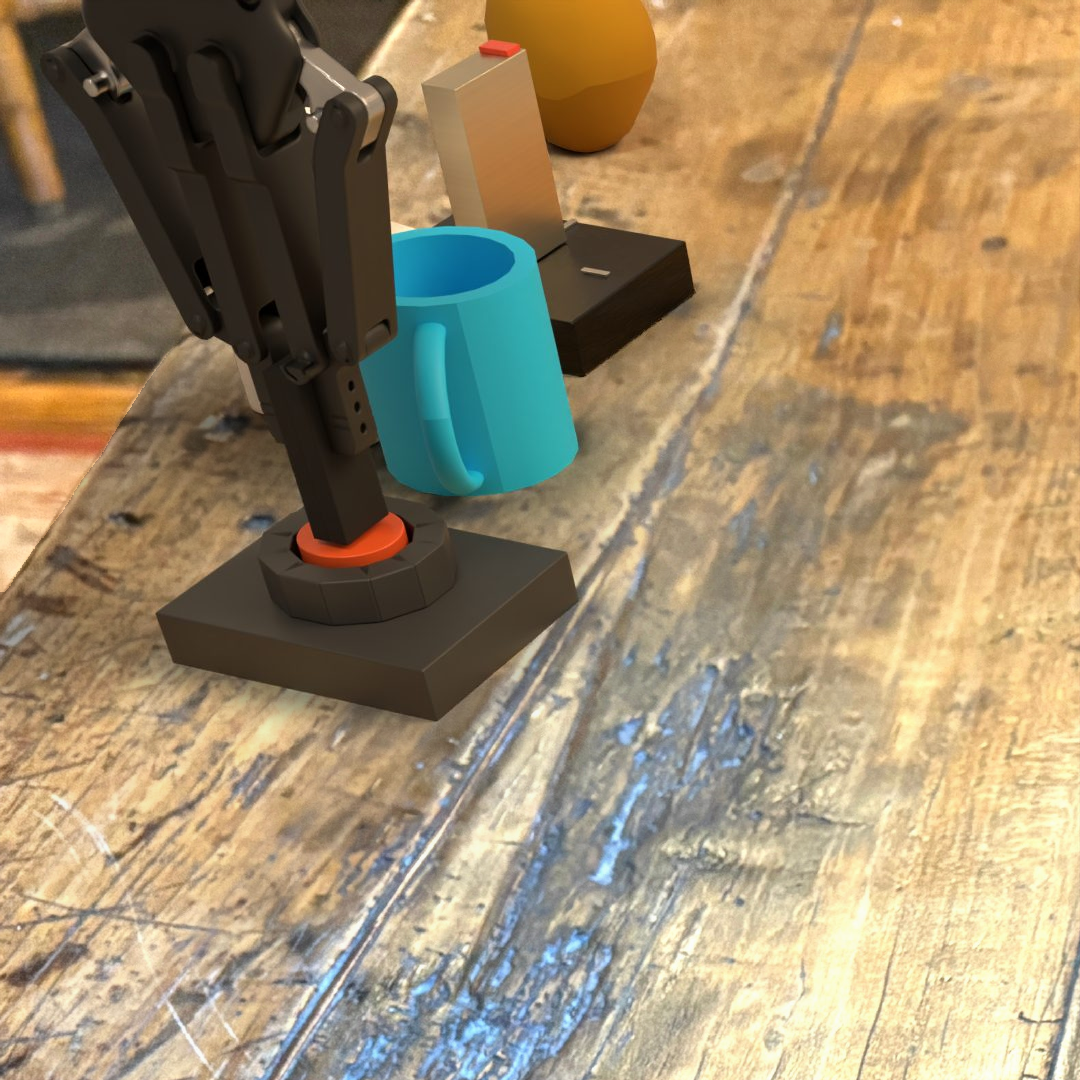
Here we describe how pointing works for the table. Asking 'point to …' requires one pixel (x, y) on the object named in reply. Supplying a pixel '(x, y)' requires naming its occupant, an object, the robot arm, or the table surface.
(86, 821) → the table surface
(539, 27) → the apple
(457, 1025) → the table surface
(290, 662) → the button box
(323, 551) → the button
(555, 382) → the mug
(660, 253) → the dial panel
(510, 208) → the tilted slab handle
